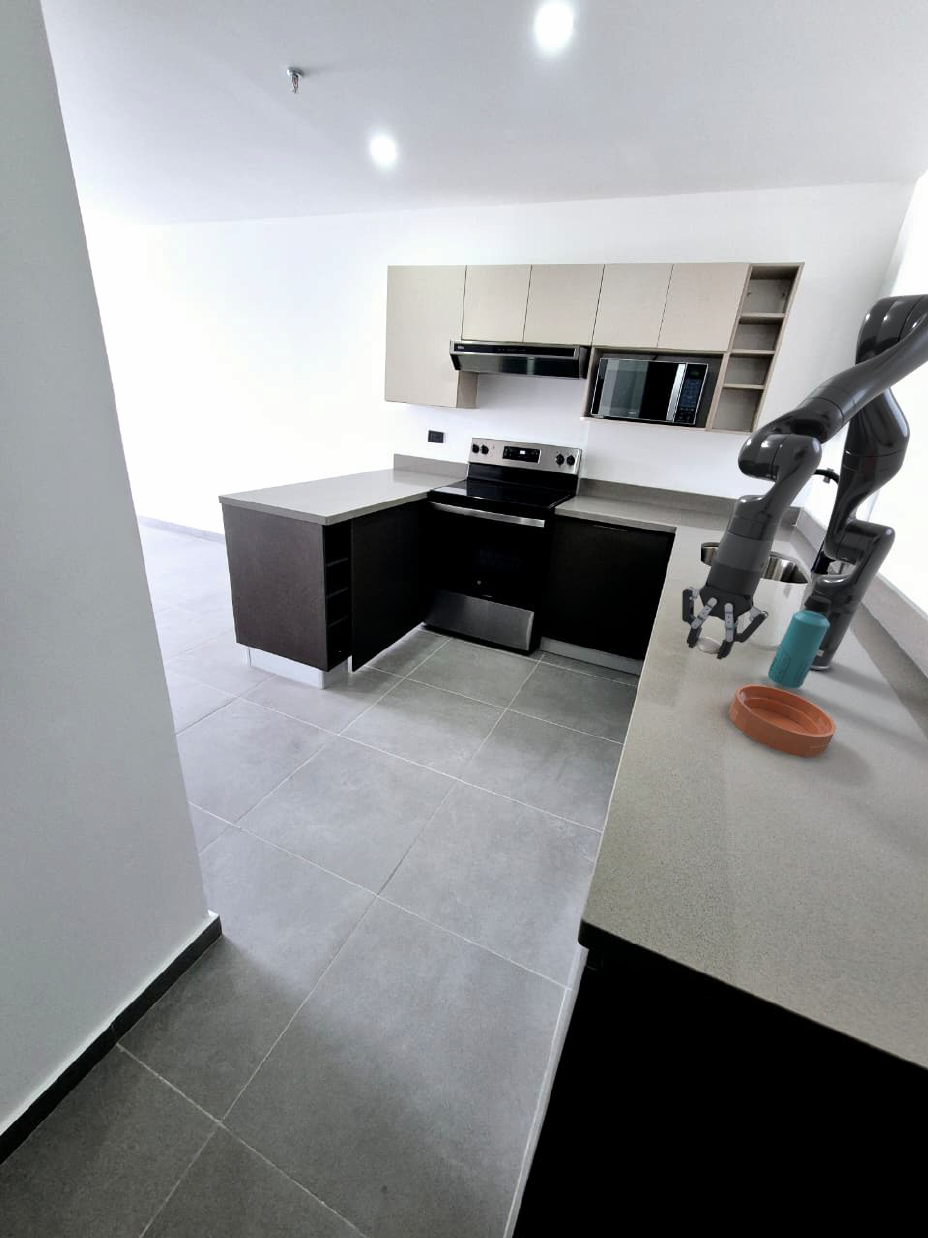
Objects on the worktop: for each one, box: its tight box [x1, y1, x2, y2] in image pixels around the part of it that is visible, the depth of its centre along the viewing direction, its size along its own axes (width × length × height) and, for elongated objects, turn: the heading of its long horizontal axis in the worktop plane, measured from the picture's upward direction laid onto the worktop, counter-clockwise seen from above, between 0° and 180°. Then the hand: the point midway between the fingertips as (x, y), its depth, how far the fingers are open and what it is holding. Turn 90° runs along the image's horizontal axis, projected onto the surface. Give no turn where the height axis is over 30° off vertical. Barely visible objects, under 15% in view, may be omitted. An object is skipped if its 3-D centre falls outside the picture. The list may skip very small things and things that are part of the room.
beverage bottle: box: [767, 595, 832, 689], centre depth 97 cm, size 6×7×20 cm
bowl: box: [728, 684, 837, 758], centre depth 85 cm, size 15×15×4 cm
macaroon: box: [695, 636, 722, 655], centre depth 86 cm, size 4×5×2 cm
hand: (705, 651), depth 87 cm, fingers closed on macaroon, 4 cm apart
